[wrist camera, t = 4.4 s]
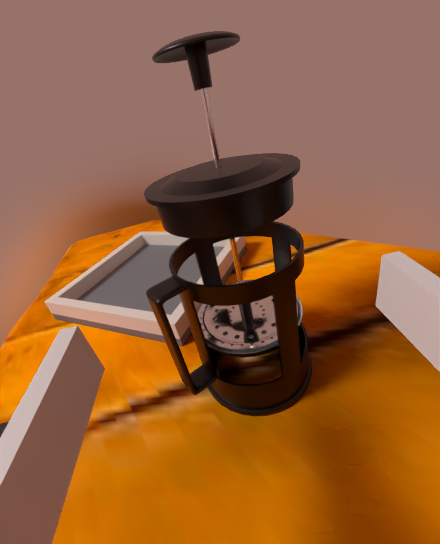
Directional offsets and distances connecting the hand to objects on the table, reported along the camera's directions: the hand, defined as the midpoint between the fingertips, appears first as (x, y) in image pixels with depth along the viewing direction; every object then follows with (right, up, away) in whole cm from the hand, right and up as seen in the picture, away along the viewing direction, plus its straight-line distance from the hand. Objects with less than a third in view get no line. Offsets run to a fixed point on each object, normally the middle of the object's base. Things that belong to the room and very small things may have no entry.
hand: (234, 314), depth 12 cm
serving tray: (-10, +1, +28) cm, 30 cm away
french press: (+2, -7, +12) cm, 14 cm away
